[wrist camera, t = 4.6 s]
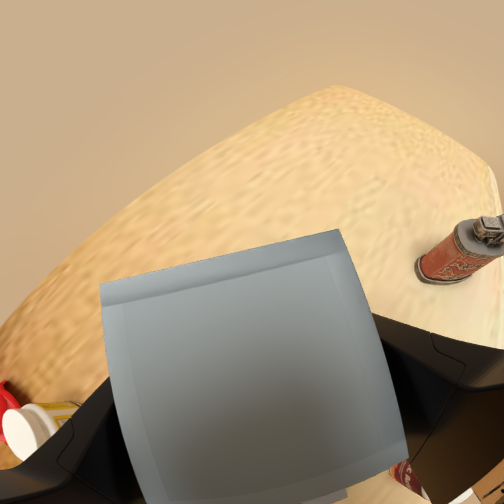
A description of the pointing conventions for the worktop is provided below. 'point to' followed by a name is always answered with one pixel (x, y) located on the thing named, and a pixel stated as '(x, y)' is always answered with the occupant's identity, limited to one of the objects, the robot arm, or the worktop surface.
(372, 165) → the worktop surface
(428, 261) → the lighter
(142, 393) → the cover
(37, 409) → the supplement bottle
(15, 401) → the red plastic curved piece
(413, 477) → the pill bottle
